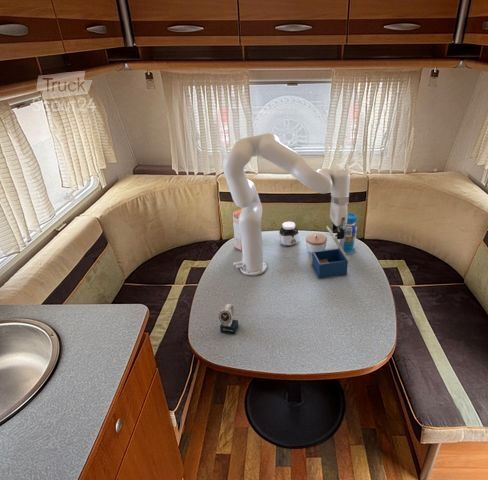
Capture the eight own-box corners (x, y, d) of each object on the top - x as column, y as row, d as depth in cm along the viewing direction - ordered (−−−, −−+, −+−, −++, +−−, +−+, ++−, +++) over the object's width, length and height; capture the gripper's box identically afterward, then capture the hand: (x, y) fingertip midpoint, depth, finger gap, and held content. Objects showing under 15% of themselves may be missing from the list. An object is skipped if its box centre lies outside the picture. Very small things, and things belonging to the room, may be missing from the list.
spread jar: (282, 248, 188) (281, 229, 182) (275, 238, 198) (275, 219, 192) (303, 244, 192) (303, 225, 186) (296, 235, 201) (296, 216, 195)
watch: (219, 335, 133) (215, 313, 128) (226, 321, 140) (223, 299, 135) (233, 338, 132) (230, 315, 127) (240, 323, 139) (238, 301, 134)
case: (319, 278, 164) (319, 264, 161) (311, 265, 174) (312, 251, 170) (346, 274, 167) (348, 260, 163) (338, 261, 177) (339, 248, 173)
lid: (334, 238, 155) (343, 232, 155) (325, 226, 165) (334, 221, 165) (347, 260, 163) (356, 255, 163) (338, 247, 173) (346, 242, 173)
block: (320, 272, 167) (320, 264, 165) (317, 267, 171) (317, 259, 169) (329, 271, 168) (329, 263, 166) (326, 266, 172) (326, 258, 170)
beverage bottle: (335, 250, 187) (337, 215, 177) (345, 244, 192) (348, 210, 182) (347, 256, 181) (351, 221, 171) (358, 250, 186) (362, 215, 176)
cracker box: (242, 251, 186) (239, 215, 175) (234, 247, 189) (231, 212, 179) (261, 241, 194) (260, 206, 184) (254, 238, 198) (252, 203, 188)
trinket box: (326, 256, 181) (327, 240, 176) (305, 256, 181) (306, 240, 177) (325, 246, 190) (326, 230, 186) (305, 245, 190) (305, 230, 186)
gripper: (325, 192, 160) (324, 228, 169) (338, 207, 145) (336, 246, 154) (340, 190, 161) (339, 226, 170) (355, 205, 147) (353, 243, 156)
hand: (338, 235), depth 162 cm, fingers closed on lid, 5 cm apart
